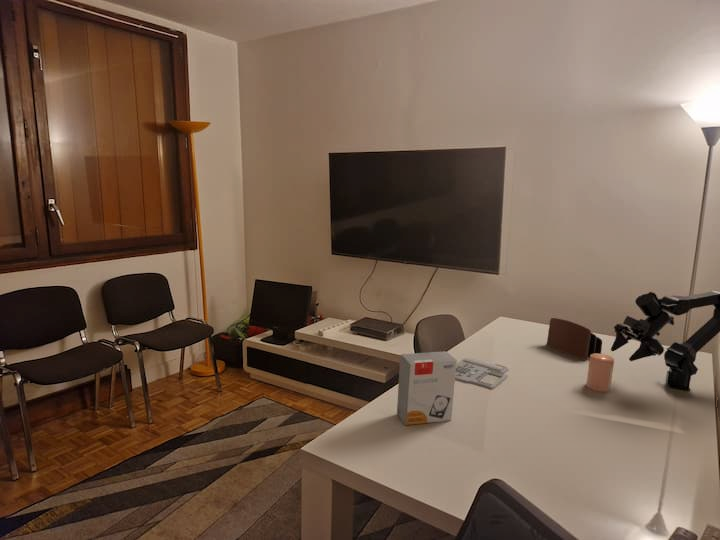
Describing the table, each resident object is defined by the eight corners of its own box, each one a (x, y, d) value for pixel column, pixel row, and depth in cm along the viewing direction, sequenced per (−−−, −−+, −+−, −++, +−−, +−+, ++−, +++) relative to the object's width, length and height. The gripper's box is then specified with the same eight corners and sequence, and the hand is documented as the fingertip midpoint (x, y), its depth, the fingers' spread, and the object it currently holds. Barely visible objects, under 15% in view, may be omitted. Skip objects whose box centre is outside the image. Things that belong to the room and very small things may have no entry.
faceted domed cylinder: (607, 388, 170) (612, 355, 168) (610, 397, 163) (615, 362, 161) (585, 384, 173) (589, 352, 170) (586, 392, 166) (591, 359, 164)
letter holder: (586, 361, 196) (590, 328, 193) (546, 345, 212) (549, 315, 210) (600, 357, 201) (605, 325, 198) (560, 342, 217) (564, 312, 215)
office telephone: (467, 353, 195) (515, 365, 184) (467, 359, 196) (515, 372, 184) (441, 369, 177) (492, 385, 165) (440, 376, 178) (492, 392, 166)
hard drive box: (404, 426, 140) (408, 363, 136) (396, 414, 148) (398, 353, 144) (452, 420, 145) (457, 359, 141) (441, 408, 152) (445, 349, 148)
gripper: (621, 302, 173) (590, 331, 174) (661, 317, 155) (627, 350, 156) (637, 322, 176) (607, 351, 177) (678, 339, 158) (644, 371, 159)
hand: (620, 355), depth 167 cm, fingers open, 9 cm apart
